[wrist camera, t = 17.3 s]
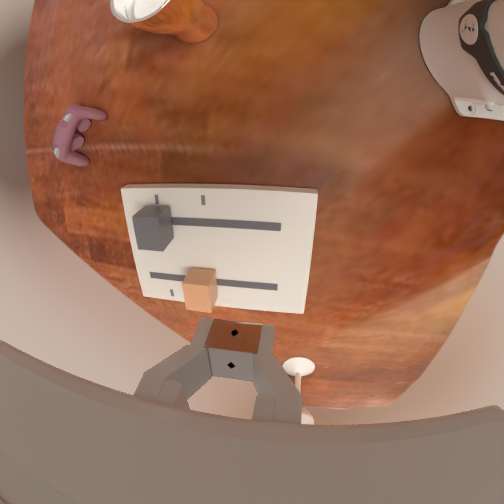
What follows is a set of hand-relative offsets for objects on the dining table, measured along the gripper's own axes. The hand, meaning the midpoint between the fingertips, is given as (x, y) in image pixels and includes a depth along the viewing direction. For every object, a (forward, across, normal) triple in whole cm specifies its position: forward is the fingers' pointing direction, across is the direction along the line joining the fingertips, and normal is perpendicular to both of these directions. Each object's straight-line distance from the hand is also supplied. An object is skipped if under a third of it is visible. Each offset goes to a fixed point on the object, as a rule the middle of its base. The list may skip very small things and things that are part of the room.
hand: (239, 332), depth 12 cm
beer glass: (+29, +11, -20) cm, 37 cm away
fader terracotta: (+27, +11, +18) cm, 34 cm away
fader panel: (+29, +9, +13) cm, 33 cm away
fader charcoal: (+27, +17, +8) cm, 33 cm away
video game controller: (+29, +30, -6) cm, 42 cm away
